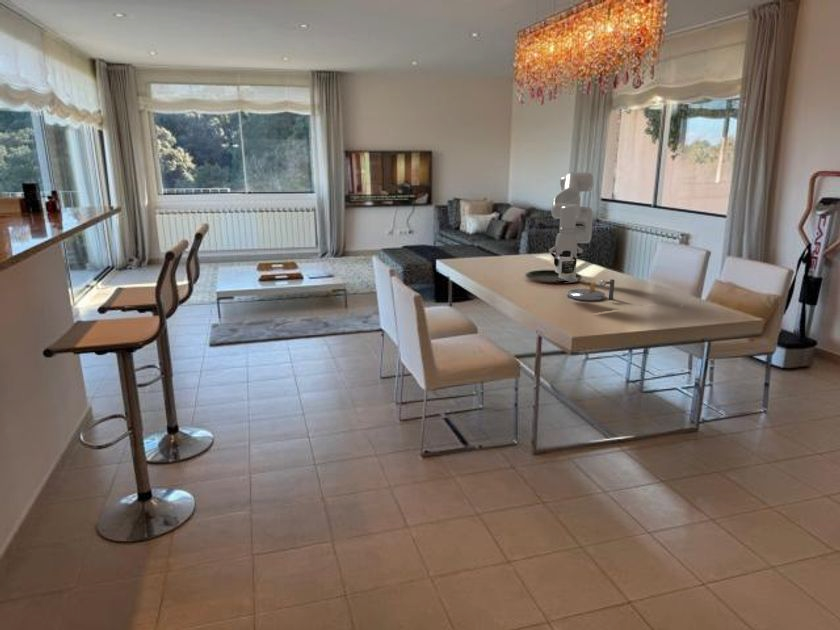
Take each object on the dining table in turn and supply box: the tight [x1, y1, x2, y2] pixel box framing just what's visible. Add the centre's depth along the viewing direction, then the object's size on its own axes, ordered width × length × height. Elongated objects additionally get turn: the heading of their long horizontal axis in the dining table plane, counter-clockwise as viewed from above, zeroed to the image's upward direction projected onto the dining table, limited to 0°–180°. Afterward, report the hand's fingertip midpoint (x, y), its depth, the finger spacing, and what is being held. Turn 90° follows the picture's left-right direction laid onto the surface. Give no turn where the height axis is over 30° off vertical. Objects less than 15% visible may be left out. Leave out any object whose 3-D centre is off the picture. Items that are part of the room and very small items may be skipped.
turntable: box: [567, 282, 606, 302], centre depth 292 cm, size 18×18×6 cm
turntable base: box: [566, 294, 607, 303], centre depth 293 cm, size 19×19×1 cm
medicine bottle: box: [554, 251, 575, 275], centre depth 286 cm, size 7×7×12 cm
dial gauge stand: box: [598, 279, 616, 301], centre depth 287 cm, size 4×9×11 cm, turn 91°
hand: (564, 265), depth 287 cm, fingers closed on medicine bottle, 8 cm apart
